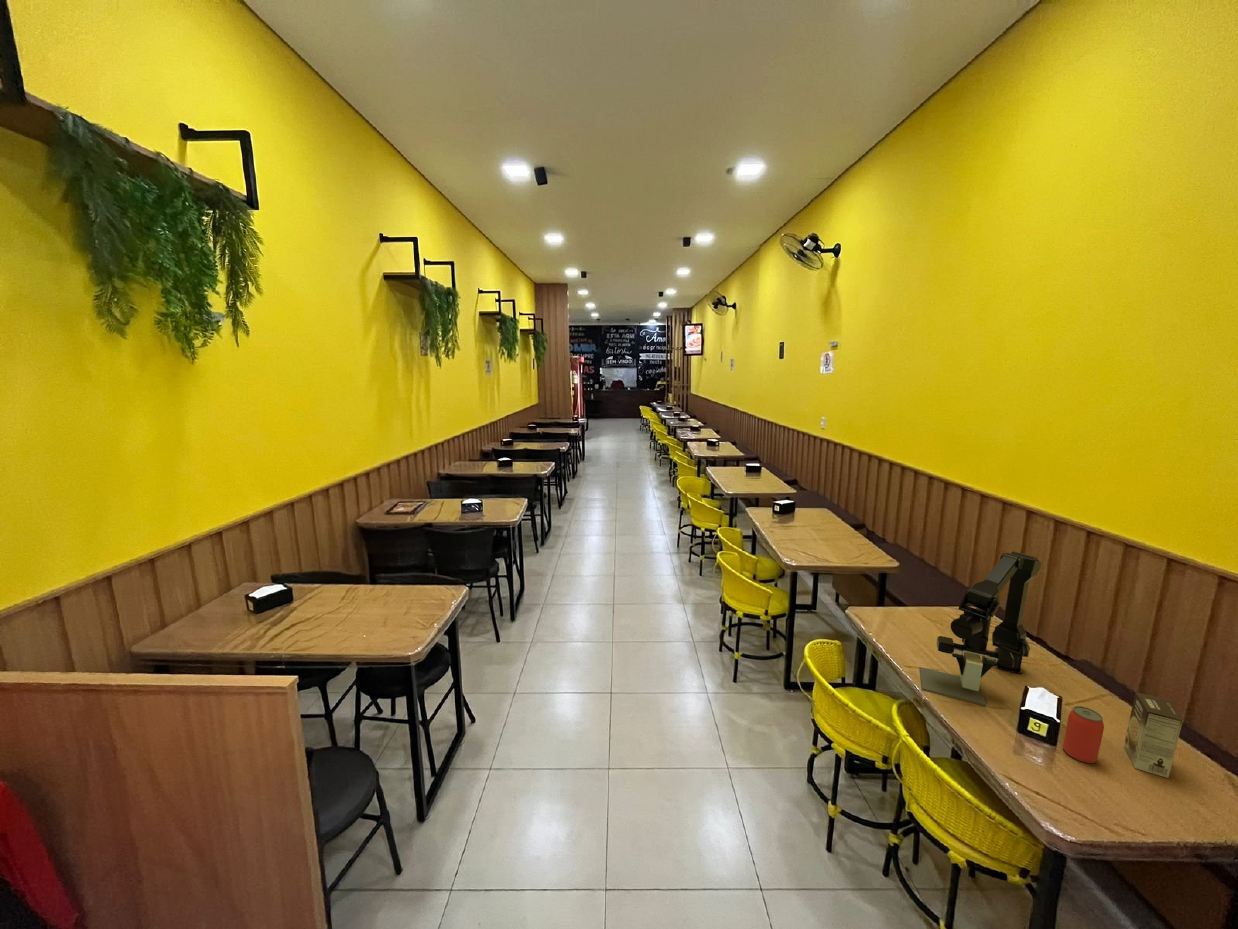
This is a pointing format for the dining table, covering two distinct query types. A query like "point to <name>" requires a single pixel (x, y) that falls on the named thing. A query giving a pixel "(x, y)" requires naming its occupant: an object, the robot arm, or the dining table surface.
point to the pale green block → (971, 671)
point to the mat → (949, 686)
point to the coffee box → (1152, 734)
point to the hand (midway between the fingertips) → (970, 676)
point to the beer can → (1083, 734)
